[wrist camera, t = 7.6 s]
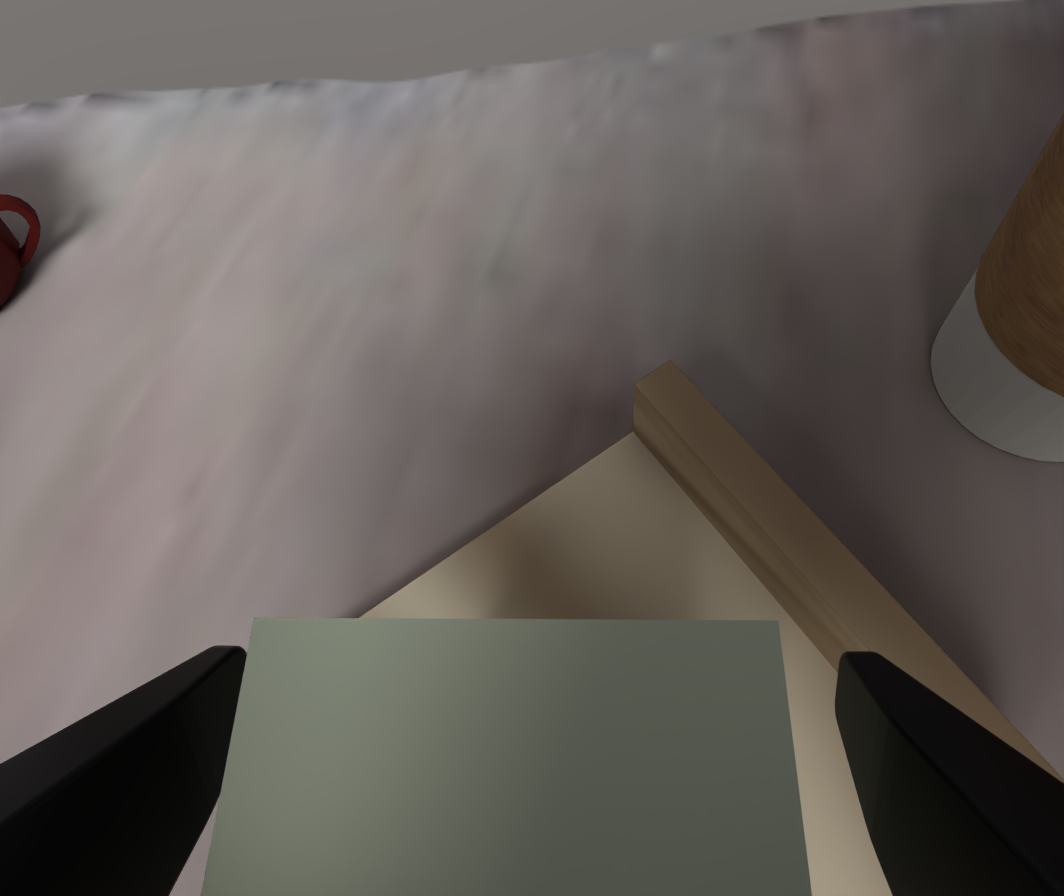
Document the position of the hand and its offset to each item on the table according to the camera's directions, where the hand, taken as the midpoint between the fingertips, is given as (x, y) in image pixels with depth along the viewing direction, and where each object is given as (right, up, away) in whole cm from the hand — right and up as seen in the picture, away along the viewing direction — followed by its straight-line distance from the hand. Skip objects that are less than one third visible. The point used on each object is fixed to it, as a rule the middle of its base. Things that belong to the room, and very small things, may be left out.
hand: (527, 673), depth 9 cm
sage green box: (+1, -5, +8) cm, 9 cm away
